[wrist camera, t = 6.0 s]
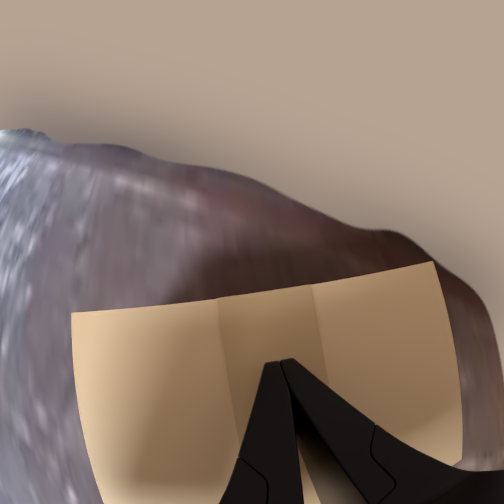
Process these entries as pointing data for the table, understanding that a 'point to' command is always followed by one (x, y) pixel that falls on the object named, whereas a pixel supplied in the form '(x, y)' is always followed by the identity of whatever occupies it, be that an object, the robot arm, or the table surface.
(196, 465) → the carton lid
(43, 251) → the table surface
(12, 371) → the table surface
